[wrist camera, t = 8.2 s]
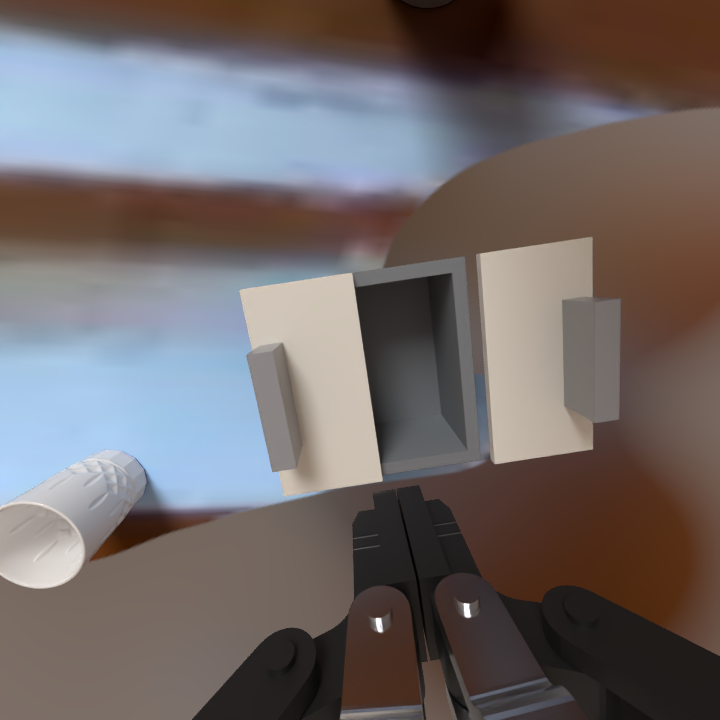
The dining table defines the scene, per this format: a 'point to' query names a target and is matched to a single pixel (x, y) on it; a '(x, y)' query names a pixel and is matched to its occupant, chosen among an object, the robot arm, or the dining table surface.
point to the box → (419, 363)
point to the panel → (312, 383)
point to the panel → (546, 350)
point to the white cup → (67, 518)
